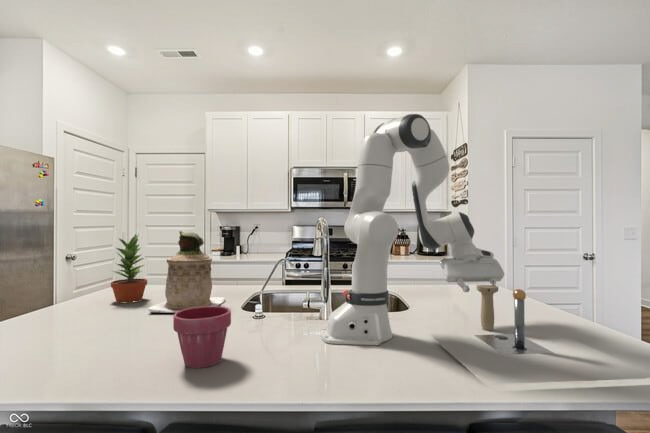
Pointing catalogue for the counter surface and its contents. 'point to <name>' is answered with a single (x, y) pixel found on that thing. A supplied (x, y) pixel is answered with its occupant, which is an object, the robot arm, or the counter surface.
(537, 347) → the plate
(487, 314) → the handle
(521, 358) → the counter surface
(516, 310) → the lever with round knob
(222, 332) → the plant pot
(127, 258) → the potted plant
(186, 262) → the cookie jar
